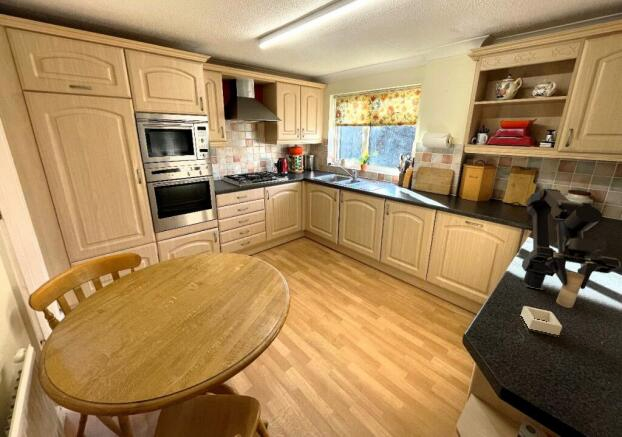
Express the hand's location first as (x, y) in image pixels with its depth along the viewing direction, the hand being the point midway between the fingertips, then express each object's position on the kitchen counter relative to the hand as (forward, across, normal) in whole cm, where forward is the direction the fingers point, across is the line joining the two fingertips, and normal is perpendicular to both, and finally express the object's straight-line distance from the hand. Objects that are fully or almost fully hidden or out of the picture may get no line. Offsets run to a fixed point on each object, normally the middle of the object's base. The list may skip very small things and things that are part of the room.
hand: (573, 286), depth 75 cm
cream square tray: (+12, -6, +8) cm, 15 cm away
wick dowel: (+4, 0, +6) cm, 7 cm away
